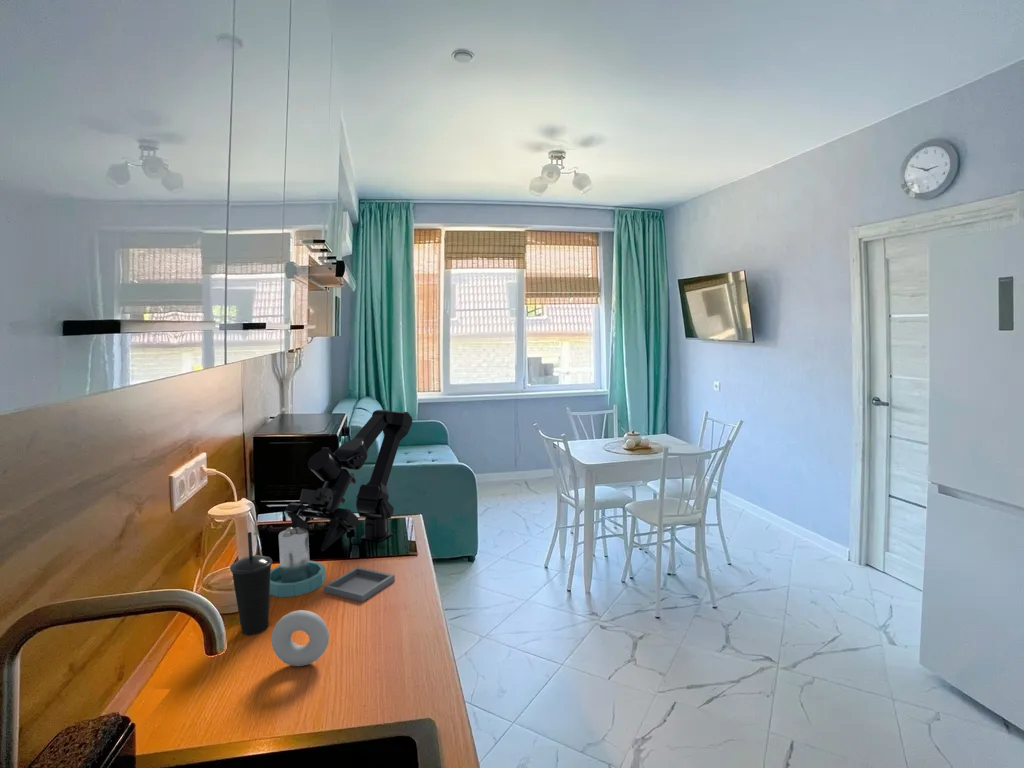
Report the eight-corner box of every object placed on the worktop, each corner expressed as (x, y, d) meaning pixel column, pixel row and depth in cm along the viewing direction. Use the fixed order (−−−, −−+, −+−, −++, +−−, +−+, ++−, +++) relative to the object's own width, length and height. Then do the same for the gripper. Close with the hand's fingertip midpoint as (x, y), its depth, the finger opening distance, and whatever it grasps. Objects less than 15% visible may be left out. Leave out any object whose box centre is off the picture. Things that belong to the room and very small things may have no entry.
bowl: (297, 570, 138) (296, 557, 138) (336, 580, 132) (336, 566, 132) (253, 593, 126) (252, 578, 126) (294, 604, 121) (293, 589, 120)
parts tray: (357, 575, 135) (357, 566, 135) (394, 583, 130) (394, 575, 130) (324, 595, 125) (323, 586, 125) (362, 605, 120) (362, 595, 120)
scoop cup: (305, 573, 134) (303, 521, 133) (314, 583, 129) (311, 528, 128) (278, 581, 130) (275, 527, 129) (285, 591, 125) (282, 535, 124)
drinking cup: (265, 639, 107) (259, 539, 105) (226, 639, 107) (219, 540, 105) (282, 618, 115) (277, 525, 113) (246, 618, 115) (240, 526, 113)
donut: (332, 657, 101) (330, 605, 100) (327, 668, 98) (325, 614, 97) (276, 660, 100) (273, 607, 99) (269, 672, 97) (266, 617, 96)
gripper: (287, 471, 139) (256, 529, 130) (349, 477, 132) (320, 538, 123) (310, 493, 147) (283, 548, 138) (369, 499, 141) (344, 558, 132)
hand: (306, 548), depth 133 cm, fingers open, 9 cm apart
